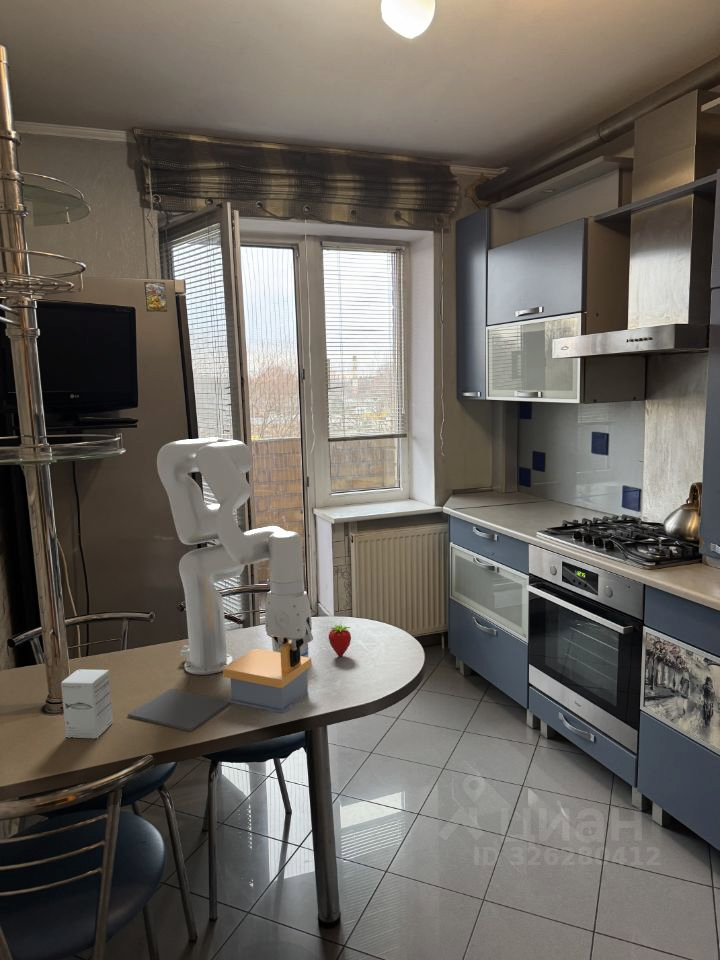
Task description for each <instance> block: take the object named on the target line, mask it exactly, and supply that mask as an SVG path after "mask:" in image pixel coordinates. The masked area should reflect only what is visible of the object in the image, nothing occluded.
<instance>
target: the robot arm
mask: <svg viewBox="0 0 720 960" xmlns="http://www.w3.org/2000/svg"><path fill="white" fill-rule="evenodd" d="M253 456H254V455H253V453H252V451H251V449H250V447H249V446H248V445H247V444H245V442H243V441H240V440H236V439H230V438H229V439H228V438H221V437H203V438H193V439H181V440H176V441H171V442H169V443H166V444H164V445H163V446H162V447H161V448H159V451H158V454H157V458H156V467H157V468H156V469H157V474H158V476H159V479H160V481H161V484H162V485H163V488H164V489H165V491H166V493H167V497H168V500H169V504H170V509H171V514H172V517H173V523H174V526H175V529H176V530H175V531H176V533H177V537H178V539H179V541H180V542H181V543H182V544H184V545H188V546H189V545H197V544H203V543H207V542H211V541H215V545H211V546H206V547H201V548H197V549H196V548H195V549H193V550H190V551H188V552H187V553H185V554H184V555H182V557H181V558H180V560H179V562H178V563H179V564H178V570H179V572H178V573H179V575H180V580H181V582H182V587H183V592H184V599H185V600H184V601H185V611H186V623H187V635H188V636H187V637H188V645H185V644H184V645H183V646H182V647H181V650H180V651H179V655H180V656H181V657H182V656H183V657H186V661H185V662H184V670H185V671H186V672H187V673H188V674H189V673H190V674H192V675H199V676H200V675H201V676H204V675H205V676H206V675H213V674H216V673H217V674H218V673H220V672H223V668H224V667H226V666H228V665H229V664H231V663H233V662H234V658H233V656H232V655H230V654H228V653H227V639H226V637H227V636H226V626H225V623H226V622H225V609H224V599H223V596H222V594H221V593H220V592H219V591H218V589H217V588H216V587H215V583H218V582H222V581H225V580H229V579H232V578H235V577H238V576H240V575H241V574H242V572H243V571H244V569H245V566H247V565H253V564H255V563H260V562H263V561H268V564H269V579H267V580H266V585H267V586H269V588H270V591H268V592H267V595H266V602H265V610H264V611H265V614H264V625H265V627H264V628H265V632H266V635H267V636H268V637H270V638H271V639H272V638H274V640H275V641H276V642H277V643H278V647H279V648H280V646H282V645H283V644H285V643H287V642H288V641H289V639H291V648H292V649H291V650H290V666H291V667H294V666H296V665H297V664H298V663H299V662H300V647H301V646H302V645H303V644H304V643H308V644H309V643H310V642H312V641H313V640H314V636H313V632H312V629H313V628H312V626H313V625H312V624H313V622H312V613H311V606H310V600H309V597H308V593H307V591H305V582H304V581H305V579H304V559H303V558H304V556H303V538H302V536H301V535H300V533H298V531H291V530H290V531H289V530H285V529H284V528H281V527H279V526H276V525H270V526H265V527H260V528H259V527H258V528H255V529H250V530H246V531H245V530H244V531H242V530H241V528H240V527H239V525H238V523H237V520H236V517H235V515H234V512H235V511H236V510H238V509H239V508H240V507H241V506H242V505H244V504H245V503H246V502H247V501H248V500H249V498H250V497H251V494H252V488H251V486H250V485H251V484H249V482H248V480H247V479H246V477H245V476H244V474H246V473H248V472H249V471H250V470H251V469H252V467H253V464H254V457H253ZM196 472H199V473H200V474H201V476H202V478H203V479H204V482H205V483H206V485H207V486H208V487H209V489H210V491H211V493H212V494H213V496H214V499H216V501H217V503H214V504H213V503H212V504H207V505H206V504H205V501H204V496H203V492H202V489H201V487H200V486H199V484H198V483H197V482H196V481H195V479H193V478H192V477H191V476H190V475H188V474H189V473H196ZM304 636H305V637H304Z"/></svg>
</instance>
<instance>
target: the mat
mask: <svg viewBox="0 0 720 960" xmlns="http://www.w3.org/2000/svg"><path fill="white" fill-rule="evenodd" d="M230 704H232V701H231V700H227V699H222V698H216V697H212V696H206V695H204V694H197V693H193V692H188V691H183V690H178V689H174V688H169V689H167V690H166V691H164V692H163V693H160V694H159V695H157V696H155V697H154V698H153V699H151V700H149V701H148V702H146V703H144V704H143V705H141V706H139V707H137V708H136V709H134V710H132V711H131V712H129V713H127V717H129V718H132V717H133V718H134V719H137V720H140V721H141V720H142V721H144V720H145V721H146V722H149V723H152V724H158V725H161V726H166V727H170V728H174V729H179V730H182V731H186V732H193V731H194V730H195V729H196V728H198V727H199V726H201V725H202V724H203V723H205V722H206V721H208V720H209V719H211V718H212V717H213V716H215V715H216V714H218V713H219V712H221V711H222V710H224V709H225V708H226V707H228V706H230ZM133 718H132V719H133ZM145 721H144V722H145Z"/></svg>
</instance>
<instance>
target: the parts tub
mask: <svg viewBox="0 0 720 960" xmlns="http://www.w3.org/2000/svg"><path fill="white" fill-rule="evenodd" d="M229 681H230V694H231V704H237V705H242V706H246V707H251V708H256V709H261V710H266V711H270V712H274V713H275V712H276V713H281V714H283V713H285V712H286V711H287V710H288V709H290V708H291V707H292V706H293V705H295V704H297V702H298V701H300V700H301V699H302V698H303V697H305V696H306V695H307V694H309V693H308V692H309V688H308V686H309V685H308V669H307V670H306V671H304V672H303V673H302V674H300V675H299V676H298V677H296V678H295V679H294V680H292V681H291V682H290V683H288V684H287V685H286V686H284V687H283V688H278V687H272V686H267V685H262V684H257V683H252V682H247V681H242V680H237V679H232V678H229Z"/></svg>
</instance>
